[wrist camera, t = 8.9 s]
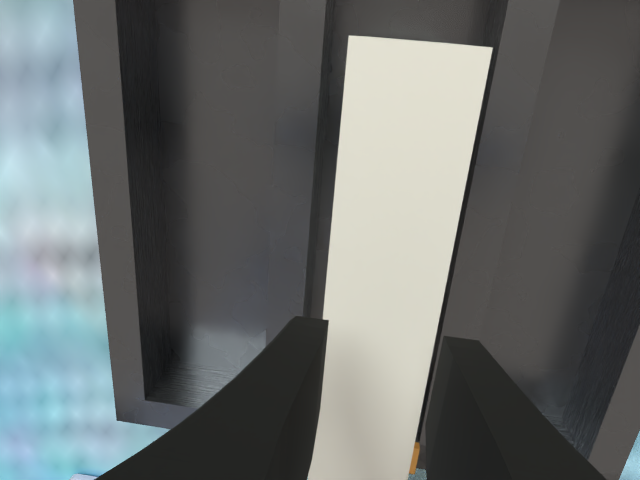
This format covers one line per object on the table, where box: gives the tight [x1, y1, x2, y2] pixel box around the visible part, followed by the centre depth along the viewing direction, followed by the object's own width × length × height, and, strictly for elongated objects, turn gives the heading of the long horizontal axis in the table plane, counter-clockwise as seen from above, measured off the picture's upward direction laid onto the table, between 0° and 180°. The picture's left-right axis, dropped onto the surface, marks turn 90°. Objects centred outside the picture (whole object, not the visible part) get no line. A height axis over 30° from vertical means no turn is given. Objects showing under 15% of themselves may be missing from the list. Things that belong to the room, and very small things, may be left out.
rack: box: [73, 0, 640, 480], centre depth 16 cm, size 19×21×4 cm
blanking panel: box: [308, 36, 493, 480], centre depth 14 cm, size 12×2×7 cm, turn 175°
